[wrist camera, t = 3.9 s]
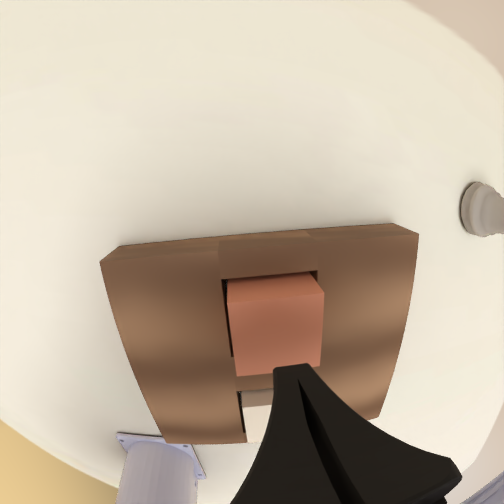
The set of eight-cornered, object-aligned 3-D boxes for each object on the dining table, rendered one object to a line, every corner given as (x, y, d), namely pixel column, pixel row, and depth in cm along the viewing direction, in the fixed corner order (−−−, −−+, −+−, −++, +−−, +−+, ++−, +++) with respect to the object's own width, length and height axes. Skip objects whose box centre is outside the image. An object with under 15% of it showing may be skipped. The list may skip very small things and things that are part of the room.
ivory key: (298, 403, 20) (307, 435, 17) (245, 410, 20) (247, 443, 17) (300, 365, 19) (311, 398, 16) (240, 372, 19) (242, 407, 15)
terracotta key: (304, 331, 17) (319, 365, 14) (235, 339, 17) (236, 376, 13) (305, 266, 16) (324, 292, 12) (227, 274, 15) (227, 303, 12)
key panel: (366, 395, 22) (378, 417, 19) (170, 418, 21) (166, 443, 18) (393, 223, 17) (418, 233, 14) (118, 246, 16) (99, 261, 13)
